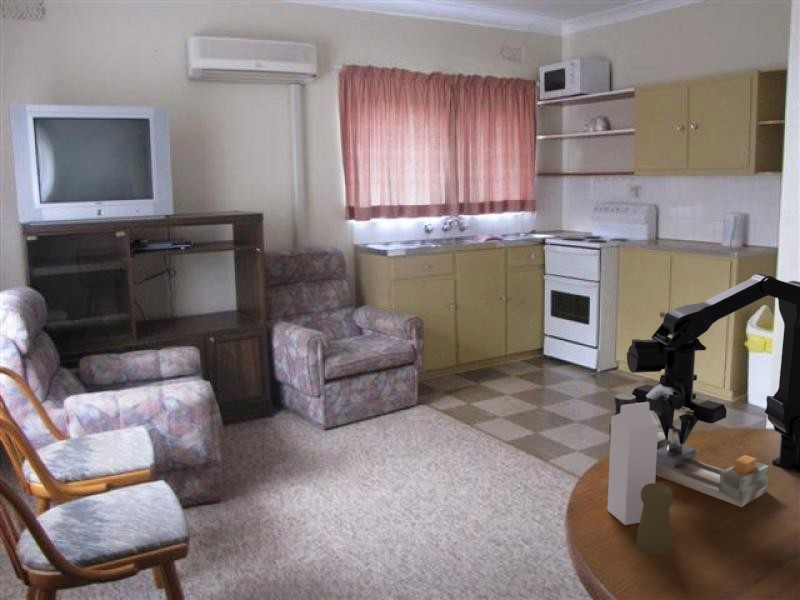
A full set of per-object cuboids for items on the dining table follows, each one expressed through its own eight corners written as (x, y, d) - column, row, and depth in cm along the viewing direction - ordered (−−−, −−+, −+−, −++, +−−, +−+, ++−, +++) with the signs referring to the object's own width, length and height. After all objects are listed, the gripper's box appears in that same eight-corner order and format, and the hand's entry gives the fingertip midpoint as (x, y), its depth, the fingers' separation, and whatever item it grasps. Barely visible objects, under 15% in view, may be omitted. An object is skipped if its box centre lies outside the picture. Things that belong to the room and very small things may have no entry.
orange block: (743, 469, 145) (744, 454, 144) (755, 473, 143) (756, 458, 142) (733, 474, 142) (734, 460, 142) (745, 478, 141) (746, 464, 140)
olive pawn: (675, 556, 122) (679, 496, 120) (637, 553, 123) (640, 493, 121) (669, 538, 128) (673, 480, 126) (633, 535, 129) (636, 477, 127)
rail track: (659, 454, 163) (660, 431, 162) (766, 491, 145) (769, 465, 144) (632, 466, 157) (633, 442, 156) (741, 507, 139) (743, 480, 138)
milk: (653, 521, 134) (660, 407, 130) (624, 525, 133) (630, 411, 128) (634, 505, 140) (640, 396, 136) (606, 510, 138) (611, 400, 134)
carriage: (674, 450, 159) (675, 420, 158) (695, 457, 155) (697, 426, 154) (652, 460, 154) (654, 428, 153) (674, 467, 150) (676, 435, 149)
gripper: (617, 368, 153) (614, 438, 156) (700, 389, 139) (695, 465, 142) (648, 358, 160) (645, 425, 163) (730, 377, 146) (725, 451, 149)
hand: (675, 441), depth 154 cm, fingers closed on carriage, 3 cm apart
